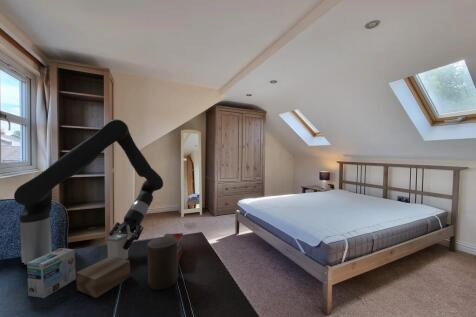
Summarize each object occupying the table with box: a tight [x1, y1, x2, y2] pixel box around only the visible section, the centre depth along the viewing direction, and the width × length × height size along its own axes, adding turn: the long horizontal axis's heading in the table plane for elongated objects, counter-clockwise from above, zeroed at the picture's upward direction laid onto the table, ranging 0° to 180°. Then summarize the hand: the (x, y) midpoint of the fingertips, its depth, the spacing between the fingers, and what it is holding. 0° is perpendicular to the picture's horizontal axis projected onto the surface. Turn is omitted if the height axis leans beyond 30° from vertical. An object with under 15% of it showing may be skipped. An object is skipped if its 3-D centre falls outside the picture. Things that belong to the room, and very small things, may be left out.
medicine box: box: [163, 232, 184, 263], centre depth 88 cm, size 15×8×8 cm, turn 5°
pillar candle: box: [146, 236, 179, 291], centre depth 72 cm, size 10×10×15 cm
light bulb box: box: [26, 247, 77, 299], centre depth 70 cm, size 11×7×11 cm, turn 168°
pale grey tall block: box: [106, 233, 129, 260], centre depth 87 cm, size 5×5×10 cm
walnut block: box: [75, 256, 131, 299], centre depth 72 cm, size 10×12×6 cm
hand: (116, 248), depth 87 cm, fingers open, 8 cm apart
